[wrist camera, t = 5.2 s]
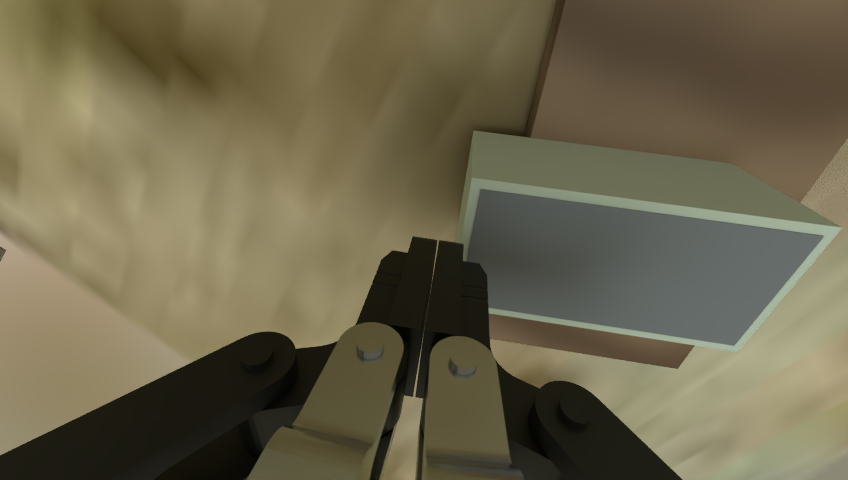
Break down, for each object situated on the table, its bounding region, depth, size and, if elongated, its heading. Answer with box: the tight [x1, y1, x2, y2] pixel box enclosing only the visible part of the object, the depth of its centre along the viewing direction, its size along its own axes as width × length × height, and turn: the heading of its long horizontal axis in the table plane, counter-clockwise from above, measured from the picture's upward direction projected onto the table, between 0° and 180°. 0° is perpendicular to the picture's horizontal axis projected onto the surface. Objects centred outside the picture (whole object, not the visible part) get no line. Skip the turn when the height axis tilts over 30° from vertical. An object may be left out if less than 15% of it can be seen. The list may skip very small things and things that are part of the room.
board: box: [489, 0, 848, 369], centre depth 16 cm, size 18×11×2 cm, turn 175°
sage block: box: [455, 130, 842, 352], centre depth 13 cm, size 5×5×10 cm
